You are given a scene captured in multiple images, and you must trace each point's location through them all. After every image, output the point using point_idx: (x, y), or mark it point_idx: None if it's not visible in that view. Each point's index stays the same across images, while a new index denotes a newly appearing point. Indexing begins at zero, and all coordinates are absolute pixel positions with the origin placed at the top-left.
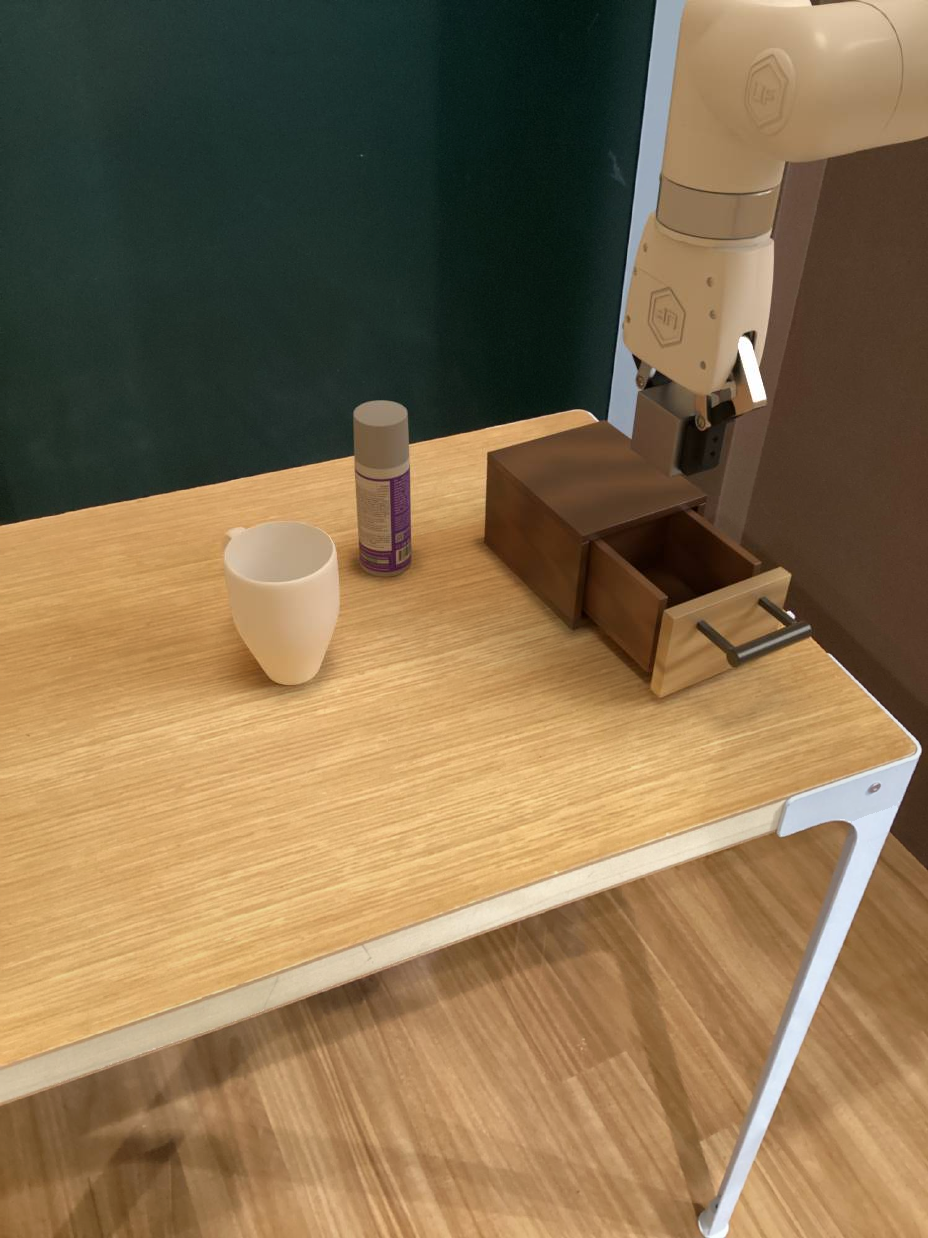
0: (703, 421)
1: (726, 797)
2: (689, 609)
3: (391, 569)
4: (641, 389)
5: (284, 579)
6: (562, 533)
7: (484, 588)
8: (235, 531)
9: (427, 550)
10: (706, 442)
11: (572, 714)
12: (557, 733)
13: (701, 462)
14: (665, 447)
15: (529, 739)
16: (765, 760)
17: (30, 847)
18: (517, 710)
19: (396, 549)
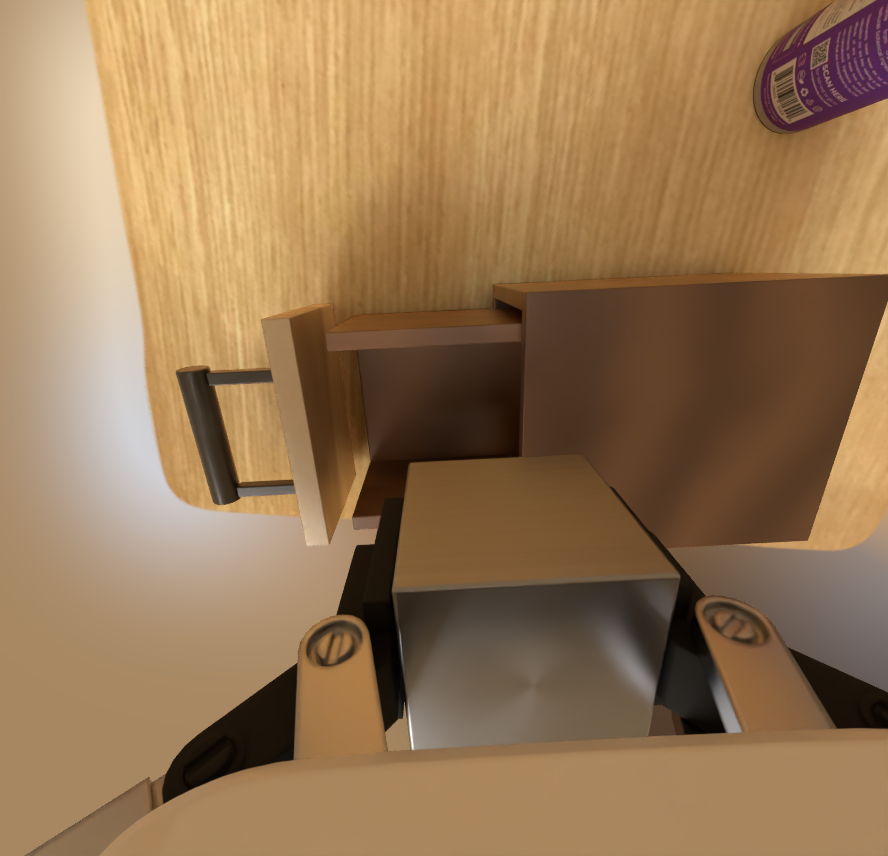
0: (319, 651)
1: (151, 286)
2: (277, 360)
3: (769, 64)
4: (701, 598)
5: None
6: (581, 287)
7: (639, 213)
8: None
9: (774, 173)
10: (341, 599)
11: (343, 184)
12: (317, 140)
13: (359, 548)
14: (441, 498)
15: (319, 90)
16: (196, 365)
17: None
18: (380, 107)
19: (798, 56)
